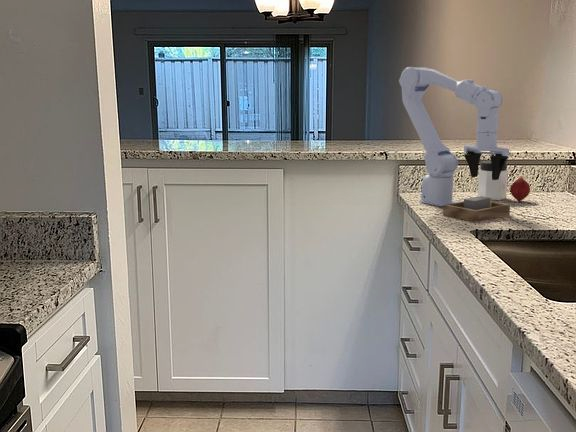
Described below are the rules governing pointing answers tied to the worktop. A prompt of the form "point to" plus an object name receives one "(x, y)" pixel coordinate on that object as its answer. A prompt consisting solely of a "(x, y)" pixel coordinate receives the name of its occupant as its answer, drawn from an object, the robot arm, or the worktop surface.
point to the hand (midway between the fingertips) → (484, 178)
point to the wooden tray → (476, 211)
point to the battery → (477, 203)
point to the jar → (492, 182)
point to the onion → (520, 189)
